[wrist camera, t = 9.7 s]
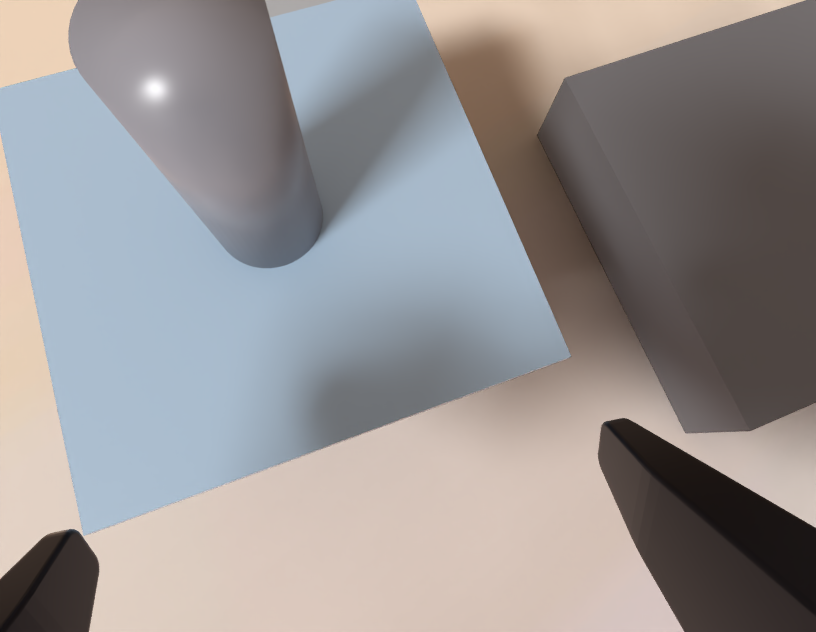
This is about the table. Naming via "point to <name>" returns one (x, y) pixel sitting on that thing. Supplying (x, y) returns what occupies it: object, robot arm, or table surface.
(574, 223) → the table surface
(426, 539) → the table surface
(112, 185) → the square plate with knob
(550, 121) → the gray square slab
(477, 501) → the table surface
